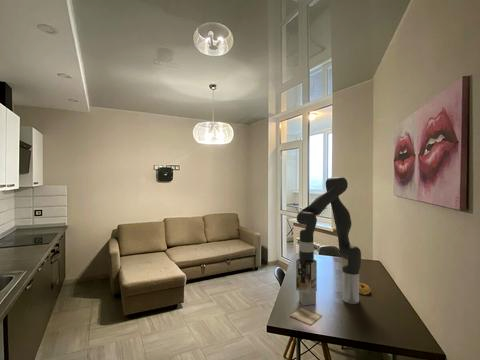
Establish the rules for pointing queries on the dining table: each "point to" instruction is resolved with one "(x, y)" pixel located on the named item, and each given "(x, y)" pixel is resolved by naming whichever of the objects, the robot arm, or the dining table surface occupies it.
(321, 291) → the dining table surface
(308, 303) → the skincare box
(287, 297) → the dining table surface
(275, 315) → the dining table surface
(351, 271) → the robot arm
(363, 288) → the bagel
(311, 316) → the cork rest mat
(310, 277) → the coffee box
